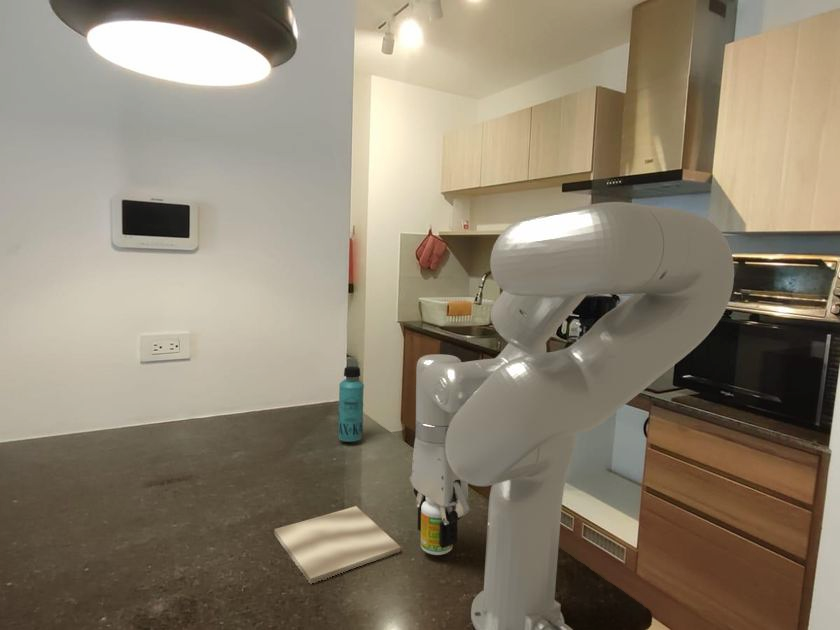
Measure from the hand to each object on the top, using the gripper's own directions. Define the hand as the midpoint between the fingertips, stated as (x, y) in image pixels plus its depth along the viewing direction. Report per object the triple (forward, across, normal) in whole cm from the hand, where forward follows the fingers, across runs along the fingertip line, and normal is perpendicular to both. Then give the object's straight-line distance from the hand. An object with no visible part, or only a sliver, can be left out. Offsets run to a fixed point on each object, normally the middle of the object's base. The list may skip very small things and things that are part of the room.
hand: (436, 535), depth 86 cm
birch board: (+3, +11, +13) cm, 17 cm away
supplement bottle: (+2, 0, 0) cm, 2 cm away
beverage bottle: (+1, +51, -10) cm, 52 cm away
